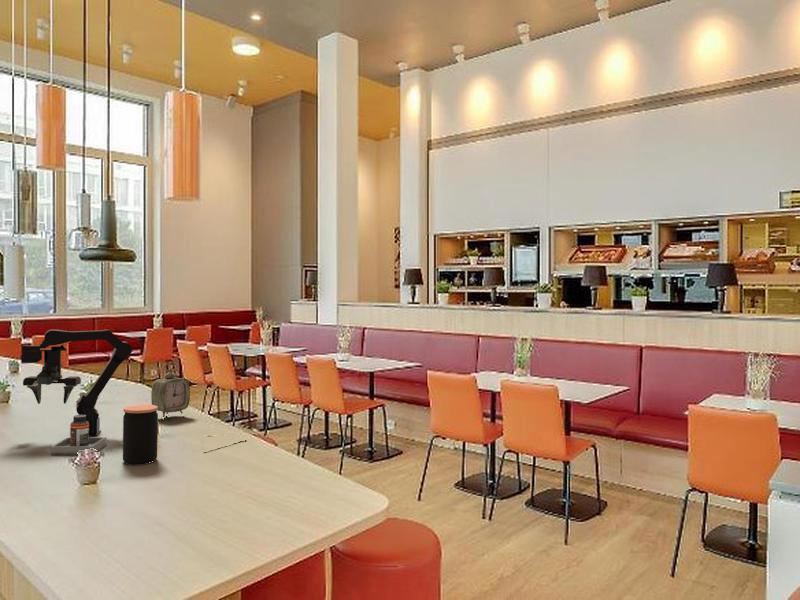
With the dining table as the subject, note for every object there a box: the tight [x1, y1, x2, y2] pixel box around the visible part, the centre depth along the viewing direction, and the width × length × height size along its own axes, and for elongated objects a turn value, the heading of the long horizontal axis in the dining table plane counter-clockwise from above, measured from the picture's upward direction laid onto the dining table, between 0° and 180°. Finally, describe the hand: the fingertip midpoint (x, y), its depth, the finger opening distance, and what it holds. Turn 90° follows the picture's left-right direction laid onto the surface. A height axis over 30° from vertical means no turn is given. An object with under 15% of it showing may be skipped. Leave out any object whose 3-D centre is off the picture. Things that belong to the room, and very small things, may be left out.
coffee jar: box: [122, 404, 159, 465], centre depth 206 cm, size 11×11×18 cm
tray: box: [50, 436, 107, 456], centre depth 219 cm, size 14×14×3 cm
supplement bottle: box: [69, 414, 90, 446], centre depth 219 cm, size 6×6×11 cm
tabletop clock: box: [150, 361, 191, 417], centre depth 274 cm, size 14×9×25 cm, turn 148°
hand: (52, 403), depth 235 cm, fingers open, 9 cm apart
